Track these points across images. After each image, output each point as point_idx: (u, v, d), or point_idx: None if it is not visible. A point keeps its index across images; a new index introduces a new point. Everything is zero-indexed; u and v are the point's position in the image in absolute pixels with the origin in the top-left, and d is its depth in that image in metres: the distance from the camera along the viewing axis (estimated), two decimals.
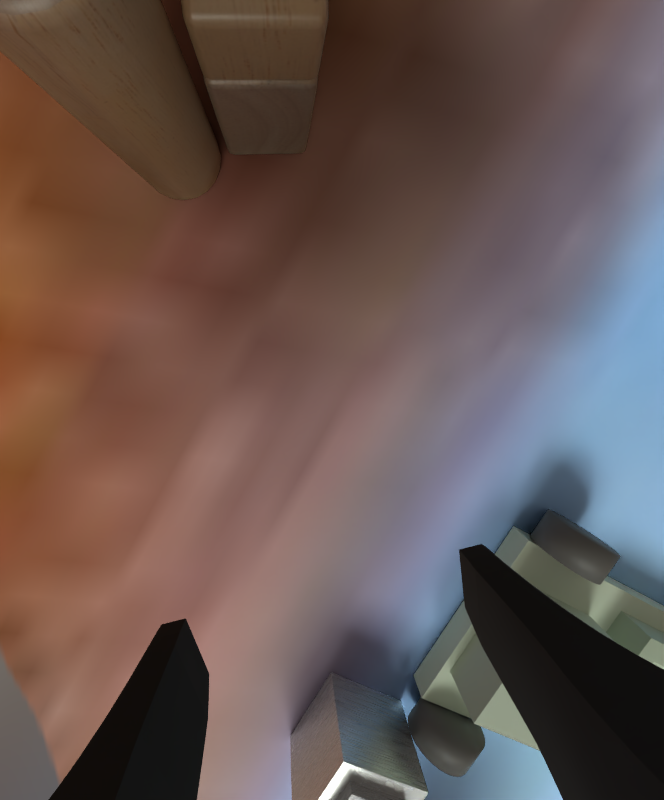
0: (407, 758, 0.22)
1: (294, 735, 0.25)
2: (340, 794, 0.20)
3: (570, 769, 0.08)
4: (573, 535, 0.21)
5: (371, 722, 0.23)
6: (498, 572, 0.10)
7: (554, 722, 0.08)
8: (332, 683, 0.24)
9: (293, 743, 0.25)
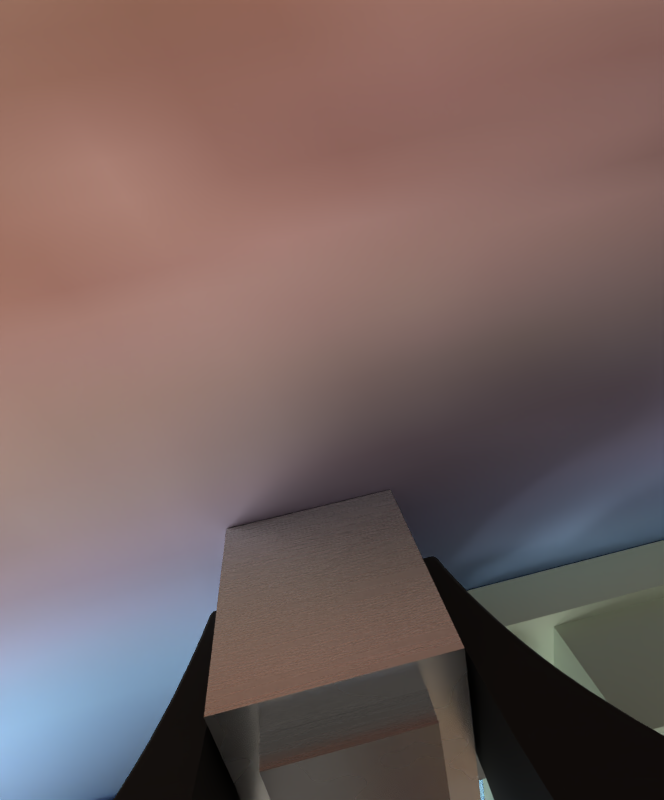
0: None
1: (241, 534, 0.12)
2: (381, 701, 0.08)
3: (502, 788, 0.08)
4: None
5: None
6: (444, 586, 0.10)
7: (488, 740, 0.08)
8: (396, 506, 0.12)
9: (237, 545, 0.12)
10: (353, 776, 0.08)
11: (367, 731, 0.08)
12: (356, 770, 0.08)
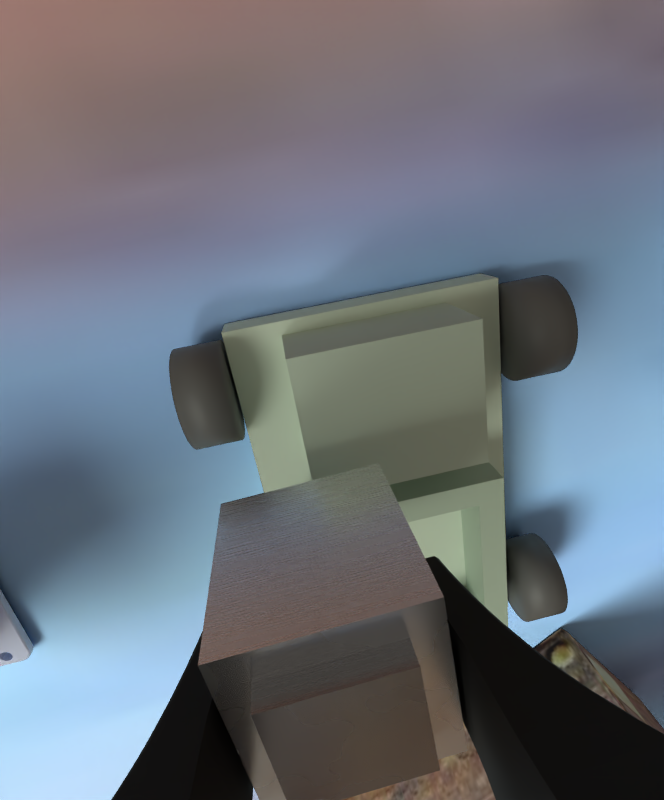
0: None
1: (235, 507, 0.12)
2: (367, 651, 0.08)
3: (504, 788, 0.08)
4: (561, 292, 0.16)
5: None
6: (445, 586, 0.10)
7: (490, 740, 0.08)
8: (384, 477, 0.12)
9: (231, 517, 0.12)
10: (341, 719, 0.08)
11: (352, 676, 0.08)
12: (343, 714, 0.08)
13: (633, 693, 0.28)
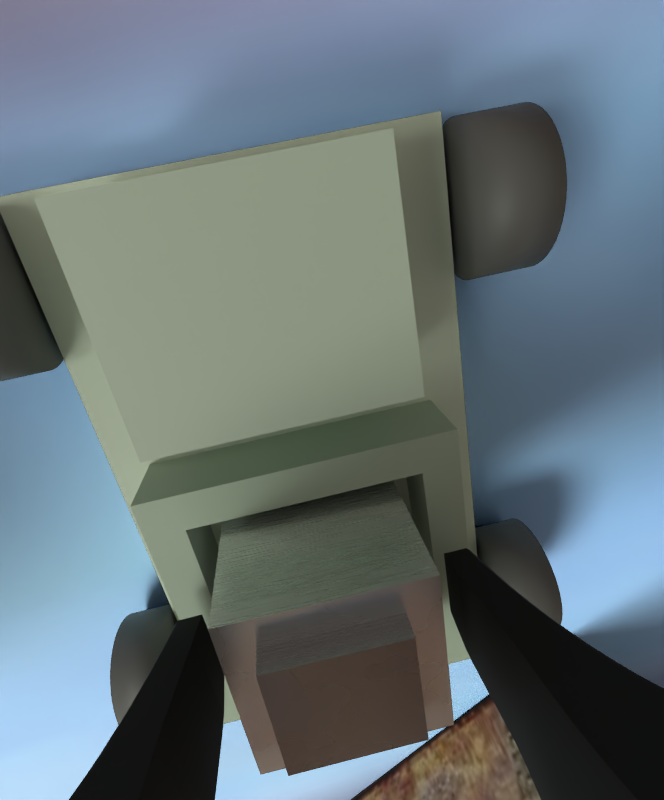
0: None
1: None
2: (365, 622, 0.09)
3: (549, 775, 0.08)
4: (538, 115, 0.09)
5: None
6: (481, 576, 0.10)
7: (533, 727, 0.08)
8: None
9: None
10: (338, 686, 0.09)
11: (352, 645, 0.09)
12: (341, 680, 0.09)
13: None
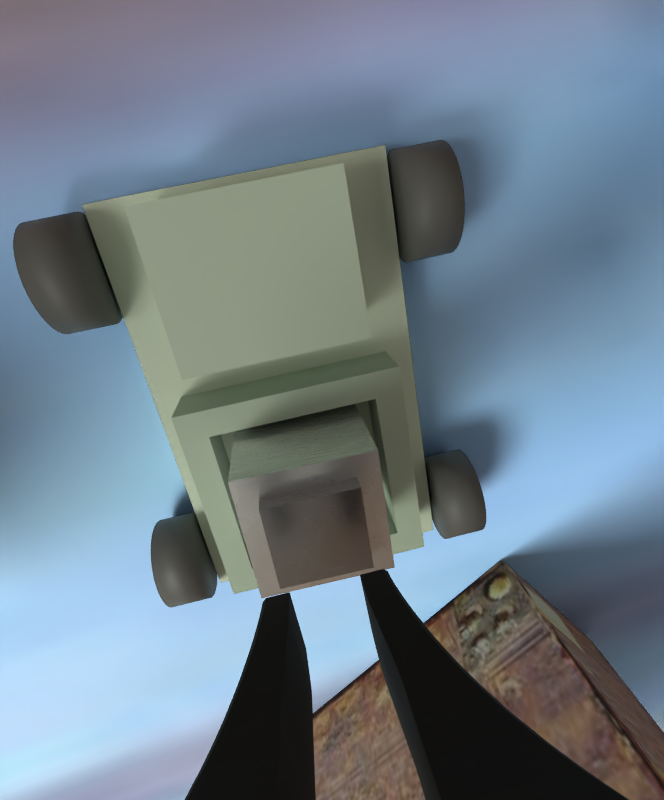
0: None
1: None
2: (330, 483, 0.14)
3: None
4: (446, 150, 0.14)
5: None
6: (387, 601, 0.10)
7: (419, 760, 0.08)
8: None
9: None
10: (312, 520, 0.14)
11: (320, 493, 0.13)
12: (314, 516, 0.14)
13: None
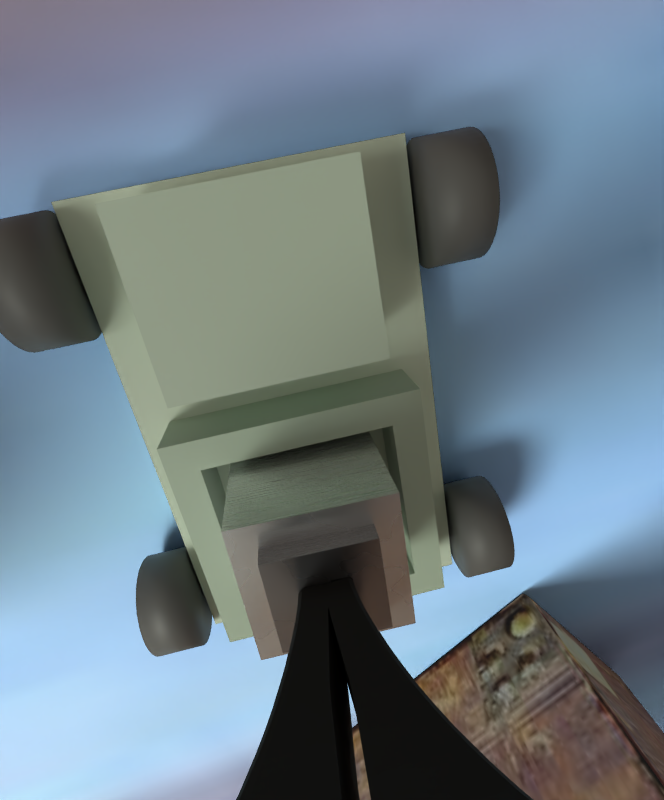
0: None
1: None
2: (342, 530, 0.12)
3: None
4: (477, 139, 0.12)
5: None
6: (347, 611, 0.10)
7: None
8: None
9: None
10: (321, 576, 0.11)
11: (331, 544, 0.11)
12: (323, 571, 0.11)
13: None
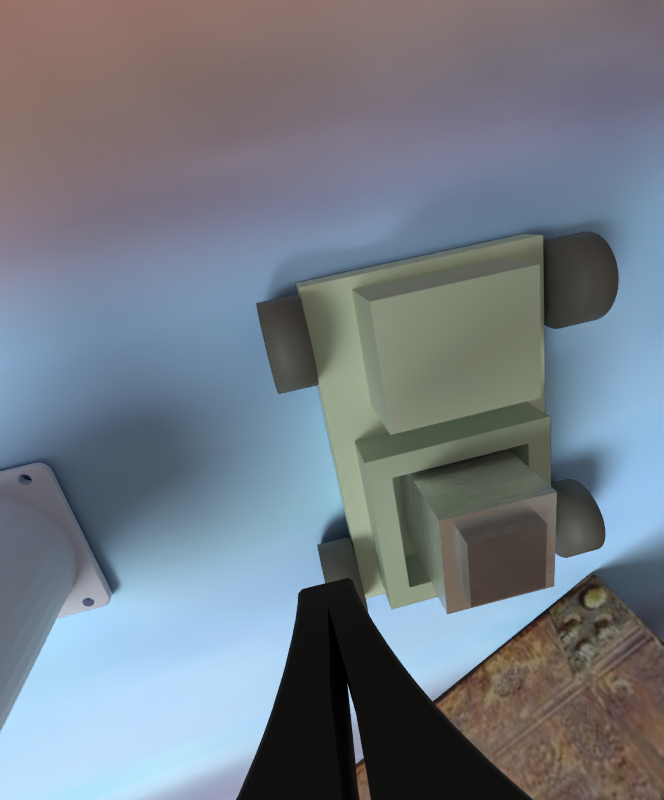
0: None
1: None
2: (516, 519, 0.17)
3: None
4: (602, 244, 0.17)
5: None
6: (347, 611, 0.10)
7: None
8: None
9: None
10: (505, 550, 0.17)
11: (513, 528, 0.16)
12: (507, 547, 0.16)
13: None
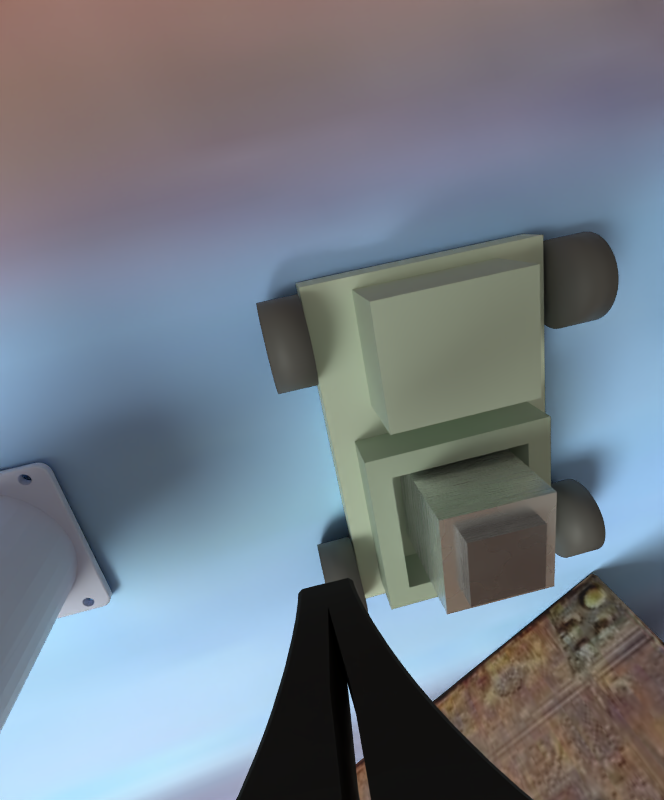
0: None
1: None
2: (516, 519, 0.17)
3: None
4: (602, 244, 0.17)
5: None
6: (347, 611, 0.10)
7: None
8: None
9: None
10: (505, 550, 0.17)
11: (513, 528, 0.16)
12: (507, 547, 0.16)
13: None
